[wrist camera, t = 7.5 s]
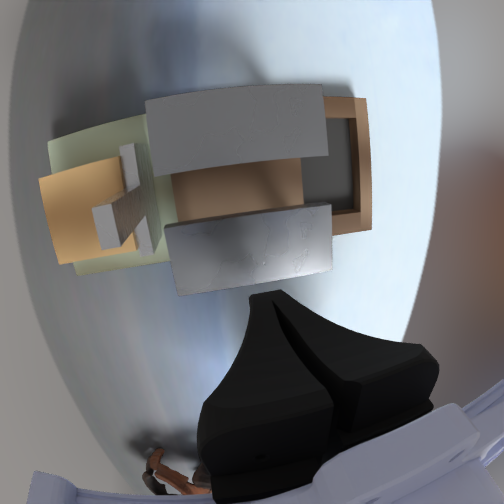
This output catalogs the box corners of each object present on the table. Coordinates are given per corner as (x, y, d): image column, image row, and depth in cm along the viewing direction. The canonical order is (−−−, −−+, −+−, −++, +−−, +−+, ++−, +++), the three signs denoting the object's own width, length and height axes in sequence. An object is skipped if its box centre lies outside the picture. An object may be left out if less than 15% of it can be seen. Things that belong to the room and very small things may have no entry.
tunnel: (298, 236, 21) (332, 270, 15) (184, 254, 20) (178, 296, 14) (287, 100, 17) (321, 84, 12) (162, 114, 16) (144, 100, 11)
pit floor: (351, 207, 22) (353, 208, 22) (298, 214, 22) (299, 215, 21) (346, 118, 20) (348, 118, 19) (290, 119, 19) (291, 119, 19)
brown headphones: (197, 477, 34) (170, 512, 26) (156, 435, 35) (123, 467, 27) (257, 468, 30) (233, 514, 22) (211, 419, 30) (176, 463, 23)
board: (362, 224, 23) (371, 229, 21) (83, 268, 20) (76, 275, 19) (356, 100, 19) (365, 98, 18) (56, 141, 17) (47, 141, 15)
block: (150, 228, 19) (136, 250, 15) (85, 240, 18) (59, 264, 14) (137, 153, 17) (118, 156, 13) (70, 170, 16) (38, 178, 12)
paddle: (162, 234, 19) (135, 300, 11) (151, 236, 19) (117, 302, 11) (147, 143, 17) (100, 141, 8) (135, 146, 16) (81, 147, 8)
